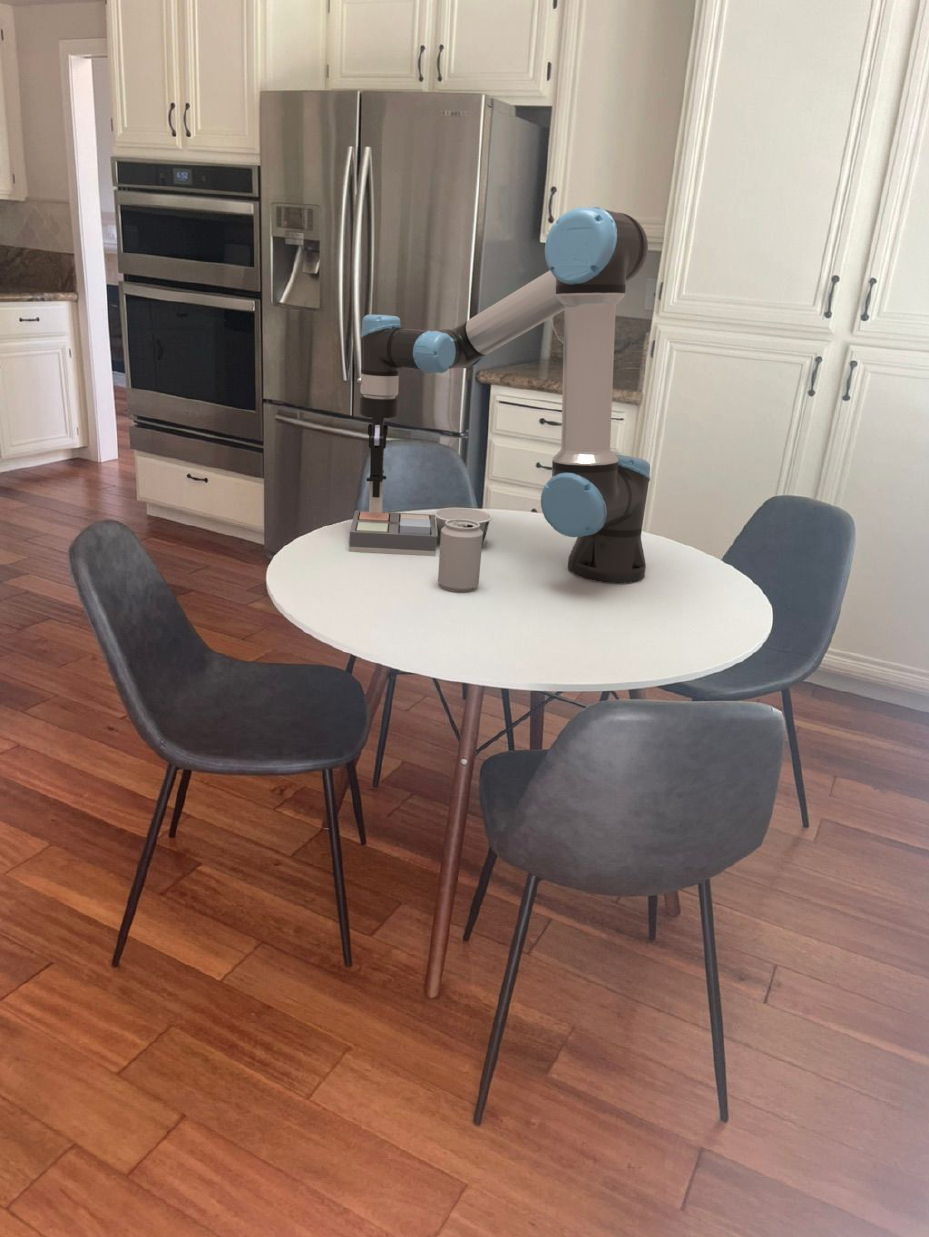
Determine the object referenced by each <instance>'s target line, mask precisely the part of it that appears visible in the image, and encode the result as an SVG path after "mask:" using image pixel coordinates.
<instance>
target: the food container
mask: <svg viewBox="0 0 929 1237" xmlns="http://www.w3.org/2000/svg"><path fill="white" fill-rule="evenodd" d="M433 515H434V516H435V523H436V532H437V539H438V545H439V546H440V539H441V529H442V528H443V527H444V526H445V525H446V524H445V522H446V521H447V520H450V519H468V520H473V521H476V522H478V523H479V524H480V527H479V528H480V529H481V531H482V532H483V538H482V549H483V547H484V543H485V540H486V536H487V533H488V527H489V524H490V522H491V521H492V519H493V516H492V515H491V514H490V513H489V512H486V511H484V510H481V509H476V508H469V507H445V508H444V507H443V508H439V509H437V510H435V511H434V512H433Z"/></svg>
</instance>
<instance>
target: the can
mask: <svg viewBox="0 0 929 1237" xmlns="http://www.w3.org/2000/svg"><path fill="white" fill-rule="evenodd" d="M445 524H446V525H445V526H444V527H443V528H442V529H441V539H440V545H439V559H438V575H437V582H438V584H439V585H441V587H442V588H443V589H445V590H447V591H452V592H460V593H463V592H465V593H466V592H470V591H472V590H475V588H476V587H478V586H479V585H480V575H481V574H480V572H481V560H482V549H483V548H482V538H483V532H482V531H481V529H480V528H479V527H480V524H479V523H478V522H476V521H473V520H468V519H450V520H447V521H446V522H445Z"/></svg>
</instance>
